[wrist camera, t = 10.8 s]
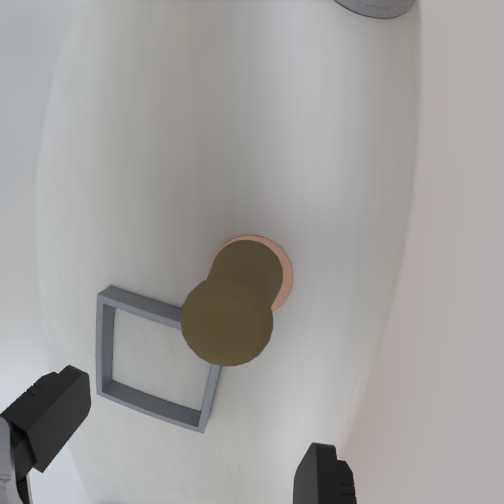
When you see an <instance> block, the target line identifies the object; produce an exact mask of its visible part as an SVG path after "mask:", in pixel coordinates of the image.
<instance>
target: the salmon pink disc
mask: <svg viewBox="0 0 504 504" xmlns="http://www.w3.org/2000/svg"><path fill="white" fill-rule="evenodd" d="M237 240H253V241H257V242H261V243H262V244H264V245H266V246H267V247H269V248H271V250H272V251H273V252H274V253H275V254H276V255H277V257H278V258H279V261H280V263H281V265H282V268H283V282H282V285H281V289H280V291H279V293H278V295H277V297H276V299H275V301H274V303H273V305H272V306H271V310H272V312H273V311H274V310H276V309H277V308H278V307H280V306H281V305H282V304H283V303H284V301H285V300H286V299H287V297H288V295H289V293H290V290H291V286H292V279H293V278H292V268H291V264H290V261H289V259H288V257H287V255H286V254H285V252H284V251H283V250H282V249H281V248H280V247H279V246H278V245H277V244H276V243H274V242H272V241H271V240H269V239H267V238H264V237H261V236H255V235H246V236H240V237H237V238H234V239H232V240H230V241H228V242H227V243H225V244H224V245H223V246H222V247H221V248H220V249H219V250H218V251H217V253H216V254H215V256H214V257H213V259H212V262H211V265H210V269H211V266H212V263H213V261H214V259H215V258H216V256H217V254H218V252H219V251H220V250H222V249H223V248H224V247H225V246H226V245H228V244H230V243H233V242H235V241H237ZM210 269H209V272H210Z"/></svg>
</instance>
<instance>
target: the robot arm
mask: <svg viewBox="0 0 504 504" xmlns="http://www.w3.org/2000/svg"><path fill="white" fill-rule="evenodd" d="M336 1H337V2H339V3H340V4H341V5H343V6H345V7H347V8H348V9H350V10H352V11H355V12H357V13H360V14H362V15H366V16H370V17H377V18H390V17H395V16H399V15H401V14H403V13H404V12H406V11H407V10H408V9H409V8H410V7H411V5H412V4H413V2H414V1H415V0H336ZM90 407H91V397H90V383H89V375H88V373H86V372H84V371H82V370H79V369H77V368H75V367H73V366H71V365H68V366H66V367H65V368H64V369H63V370H62V371H61V372H60V373H59V374H58V373H56V372H52V373H49V374H47V375H44V376H42V377H41V378H40V379H38V380H37V381H36V383H34V385H33V386H31V387H30V388H28V389H27V391H26V392H24V393H23V394H22V395H21V396H20V397H19V398H18V399H16V401H14V402H13V403H12V404H11V405H10V406H9V407H8V408H7V409H6V410H5V411H3V412H2V413H1V414H0V504H33V501H32V494H31V487H30V479H29V473H28V472H29V471H30V470H31V469H32V467H33V468H35V469H37V470H38V471H40V472H41V473H43V472H44V471H45V469H46V468H47V467H48V465H49V464H50V463H51V461H52V460H53V459H54V457H55V456H56V455H57V454H58V452H59V451H60V450H61V449H62V447H63V446H64V445H65V444H66V442H67V441H68V440H69V438H70V437H71V436H72V435H73V433H74V432H75V431H76V430H77V428H78V427H79V426H80V425H81V423H82V422H83V421H84V420H85V418H86V417H87V415H88V413H89V411H90ZM293 504H357V502H356V497H355V487H354V479H353V473H352V471H351V469H350V468H349V466H348V464H347V463H346V461H341V460H337V455H336V448H335V446H334V445H328V444H321V443H314V442H313V443H312V444H311V445H310V447H309V449H308V450H307V452H306V454H305V456H304V457H303V459H302V461H301V462H300V464H299V466H298V468H297V470H296V473H295V477H294V489H293Z"/></svg>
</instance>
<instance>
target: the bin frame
mask: <svg viewBox="0 0 504 504" xmlns="http://www.w3.org/2000/svg"><path fill="white" fill-rule="evenodd" d="M115 308H118V309H120V310H123V311H126V312H129V313H132V314H135V315H137V316H140V317H143V318H146V319H149V320H152V321H155V322H158V323H161V324H164V325H167V326H170V327H173V328H177V329H180V330H182V329H181V324H180V320H181V313H182V309H180V308H177V307H174V306H170V305H167V304H164V303H161V302H158V301H155V300H151V299H148V298H145V297H142V296H139V295H136V294H133V293H130V292H127V291H124V290H121V289H119V288H116V287H113V286H109V287H108V288H106V289H104V290H103V291H101V292H100V293H98V294H97V312H96V388H97V394H98V395H100V396H102V397H105V398H107V399H109V400H111V401H114V402H116V403H118V404H121V405H123V406H126V407H128V408H131V409H133V410H136V411H138V412H141V413H143V414H146V415H149V416H152V417H154V418H157V419H160V420H163V421H166V422H168V423H171V424H174V425H177V426H180V427H184V428H187V429H190V430H193V431H196V432H200V433H203V434H204V431H205V428H206V425H207V422H208V419H209V415H210V411H211V407H212V403H213V399H214V395H215V391H216V387H217V383H218V378H219V374H220V370H221V366H219V365H215V364H212V366H211V371H210V375H209V380H208V384H207V389H206V393H205V398H204V402H203V407H202V411H201V412H199V411H196V410H193V409H190V408H186V407H183V406H180V405H177V404H174V403H171V402H168V401H165V400H162V399H159V398H157V397H154V396H151V395H148V394H146V393H143V392H140V391H138V390H135V389H133V388H130V387H128V386H125V385H123V384H120V383H118V382H115V381H113V380H112V349H113V327H114V311H115Z"/></svg>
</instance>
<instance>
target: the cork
mask: <svg viewBox="0 0 504 504" xmlns="http://www.w3.org/2000/svg"><path fill="white" fill-rule="evenodd" d="M282 282H283V268H282V265H281V263H280V261H279V258H278V257H277V255H276V254H275V253H274V252H273V251H272V250H271V248H269V247H267V246H266V245H264V244H262V243H261V242H257V241H253V240H237V241H235V242H233V243H230V244H228V245H226V246H225V247H224V248H223V249H222V250H220V251H219V252H218V254H217V256H216V258H215V259H214V261H213V263H212V266H211V269H210V272H209V275H208V278H207V280H206V281H203V282H202V283H200V284H199V285H198V286H197V287H196V288H195V289H193V290H192V291H191V292H190V293H189V295H188V297H187V299H186V300H185V302H184V304H183V307H182V313H181V320H180V324H181V329H182V334H183V336H184V338H185V340H186V342H187V344H188V346H189V347H190V348H191V349H192V350H193V351H194V352H195V353H196V354H197V355H198V356H199V357H200V358H202V359H204V360H205V361H207V362H209V363H212V364H215V365H219V366H237V365H240V364H244V363H247V362H249V361H251V360H252V359H254V358H255V357H257V356H258V355H259V354H260V353H261V352H262V350H263V349H264V348H265V346H266V345H267V343H268V342H269V340H270V337H271V333H272V330H273V316H272V310H271V306H272V305H273V303H274V301H275V299H276V297H277V295H278V293H279V291H280V289H281V285H282Z"/></svg>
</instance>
